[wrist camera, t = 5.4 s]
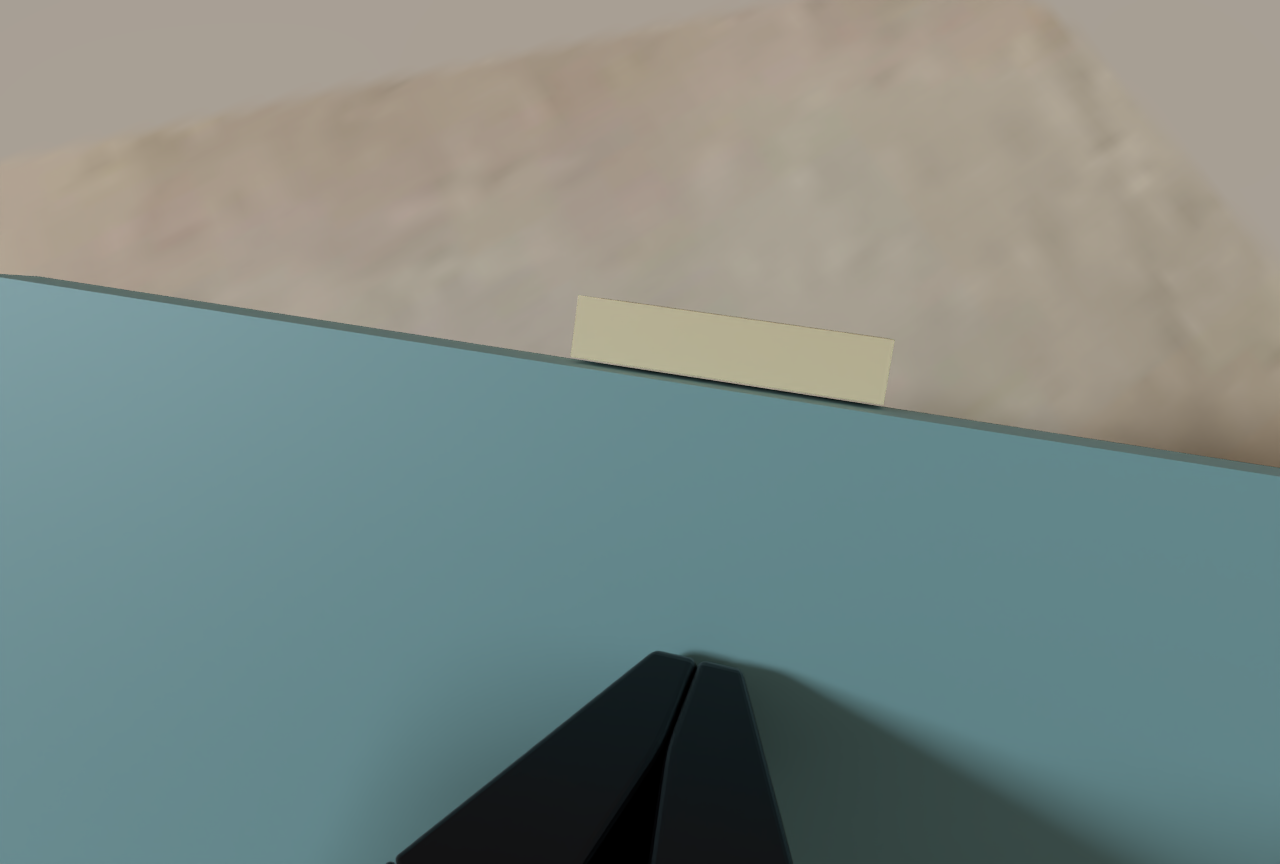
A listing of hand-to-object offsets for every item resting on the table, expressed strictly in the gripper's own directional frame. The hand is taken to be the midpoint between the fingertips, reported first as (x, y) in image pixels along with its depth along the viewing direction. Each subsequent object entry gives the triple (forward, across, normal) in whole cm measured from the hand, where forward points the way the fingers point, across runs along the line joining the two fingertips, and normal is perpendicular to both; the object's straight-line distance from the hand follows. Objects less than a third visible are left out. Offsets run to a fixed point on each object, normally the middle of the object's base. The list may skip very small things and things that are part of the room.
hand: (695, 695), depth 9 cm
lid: (+2, 0, +2) cm, 3 cm away
